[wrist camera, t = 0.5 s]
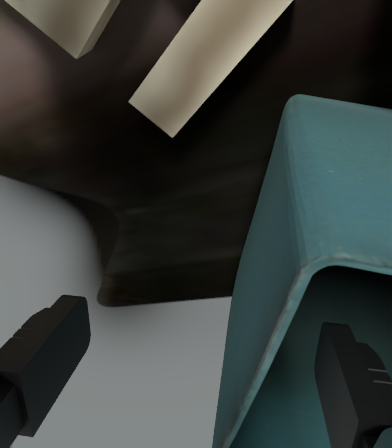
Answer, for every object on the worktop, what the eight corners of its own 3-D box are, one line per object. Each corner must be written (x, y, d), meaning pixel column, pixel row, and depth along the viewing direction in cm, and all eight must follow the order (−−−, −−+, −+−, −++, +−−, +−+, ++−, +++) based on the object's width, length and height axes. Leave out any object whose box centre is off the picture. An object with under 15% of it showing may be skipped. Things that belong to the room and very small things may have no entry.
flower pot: (223, 216, 44) (206, 483, 22) (261, 45, 31) (311, 258, 9) (377, 241, 44) (519, 535, 21) (476, 80, 31) (1054, 379, 9)
